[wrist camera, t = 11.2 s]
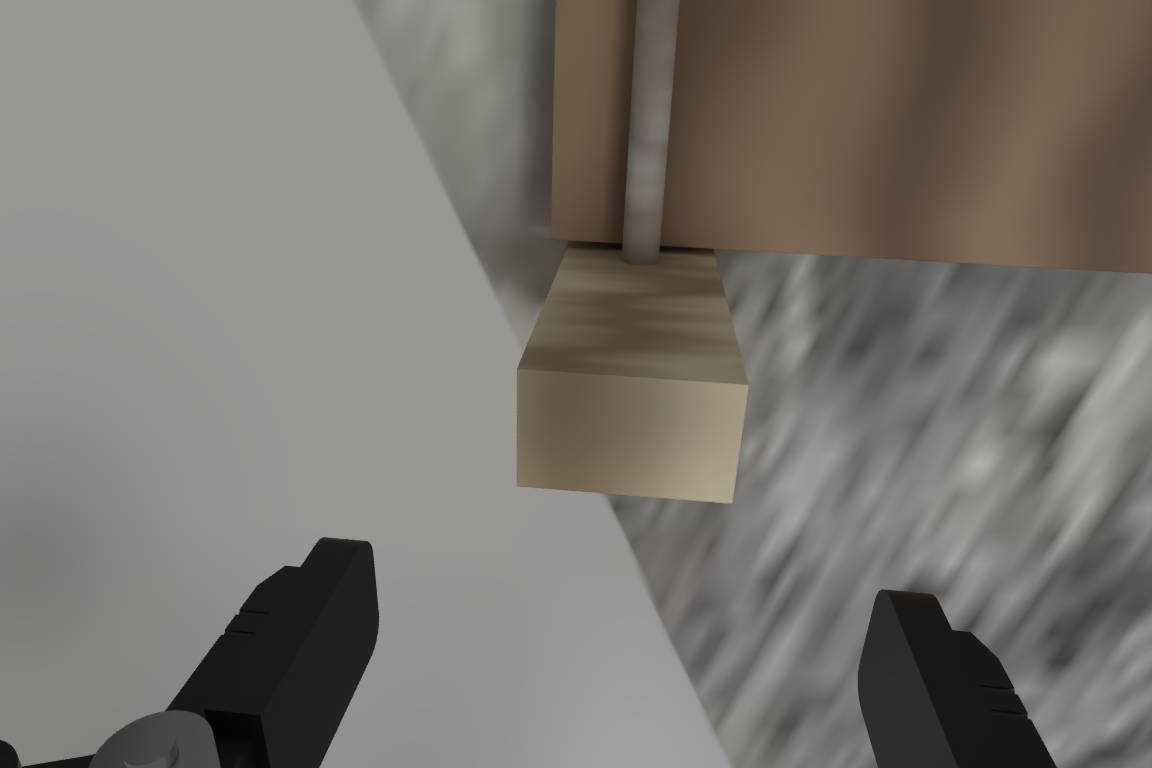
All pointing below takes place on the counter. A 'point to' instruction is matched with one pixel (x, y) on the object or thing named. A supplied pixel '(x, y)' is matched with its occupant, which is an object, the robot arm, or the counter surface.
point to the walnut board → (873, 129)
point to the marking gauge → (635, 336)
